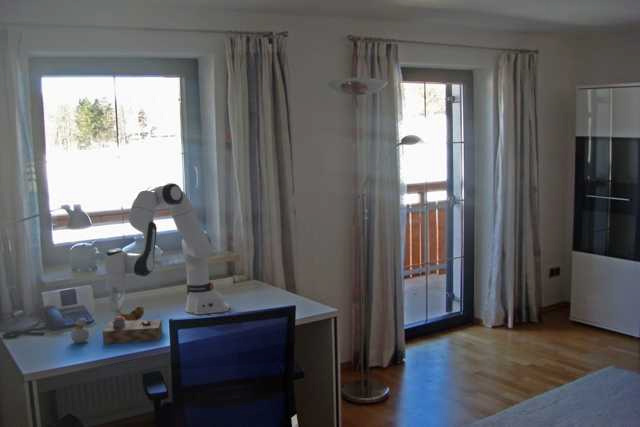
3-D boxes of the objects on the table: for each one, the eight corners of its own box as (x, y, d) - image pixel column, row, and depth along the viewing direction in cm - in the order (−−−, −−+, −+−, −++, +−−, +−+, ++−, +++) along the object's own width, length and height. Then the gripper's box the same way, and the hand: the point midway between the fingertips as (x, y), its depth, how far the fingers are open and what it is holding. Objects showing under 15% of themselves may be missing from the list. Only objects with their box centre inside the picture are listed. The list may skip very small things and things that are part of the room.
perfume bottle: (81, 338, 300) (79, 313, 299) (96, 341, 296) (94, 315, 294) (68, 343, 294) (65, 317, 292) (83, 346, 289) (81, 320, 288)
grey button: (152, 332, 303) (151, 320, 302) (151, 335, 298) (150, 323, 298) (142, 332, 302) (141, 321, 301) (141, 335, 298) (140, 323, 297)
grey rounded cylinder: (125, 327, 301) (124, 315, 300) (123, 330, 296) (122, 318, 296) (115, 327, 300) (114, 316, 299) (113, 330, 296) (112, 318, 295)
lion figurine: (143, 322, 323) (142, 304, 322) (146, 325, 319) (144, 306, 318) (112, 327, 317) (111, 308, 316) (114, 330, 312) (113, 311, 311)
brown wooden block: (162, 331, 308) (161, 318, 307) (159, 340, 294) (158, 327, 294) (109, 334, 305) (108, 322, 304) (103, 344, 291) (102, 331, 290)
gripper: (119, 290, 286) (121, 321, 288) (126, 279, 306) (128, 308, 308) (104, 291, 285) (106, 322, 287) (112, 280, 305) (114, 309, 307)
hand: (118, 315), depth 297 cm, fingers closed
